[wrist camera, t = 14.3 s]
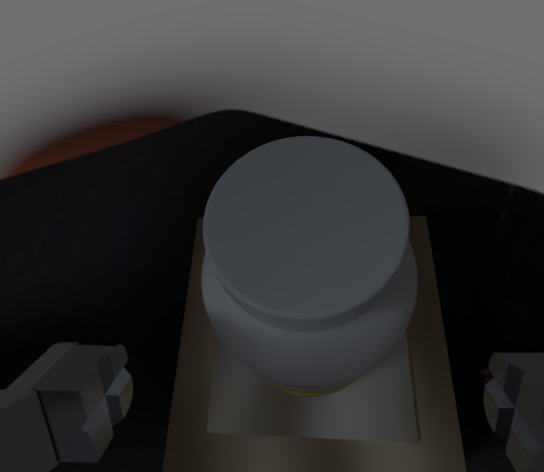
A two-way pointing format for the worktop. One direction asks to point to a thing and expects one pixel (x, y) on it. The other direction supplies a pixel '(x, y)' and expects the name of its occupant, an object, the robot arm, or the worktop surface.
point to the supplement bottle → (308, 263)
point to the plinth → (317, 399)
